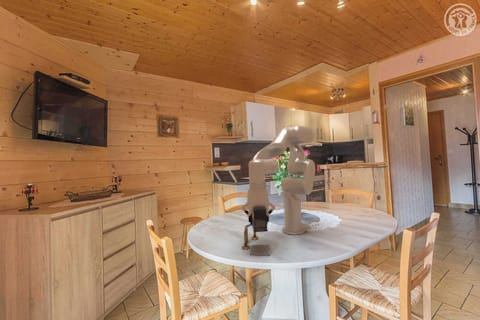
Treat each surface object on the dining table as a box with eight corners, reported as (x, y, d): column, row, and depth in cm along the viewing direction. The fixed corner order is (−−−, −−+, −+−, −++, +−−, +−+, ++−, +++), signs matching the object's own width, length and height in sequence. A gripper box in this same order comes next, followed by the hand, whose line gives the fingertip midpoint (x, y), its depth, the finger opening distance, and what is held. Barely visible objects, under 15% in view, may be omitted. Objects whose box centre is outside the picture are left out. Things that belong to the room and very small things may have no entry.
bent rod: (259, 237, 124) (258, 221, 124) (248, 250, 109) (247, 231, 109) (251, 236, 126) (250, 220, 126) (238, 248, 111) (238, 230, 111)
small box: (250, 225, 113) (250, 204, 112) (263, 224, 113) (263, 203, 113) (253, 232, 102) (252, 209, 102) (268, 231, 102) (267, 208, 102)
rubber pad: (269, 245, 113) (269, 244, 113) (270, 255, 102) (270, 254, 102) (251, 245, 114) (251, 244, 114) (250, 255, 103) (250, 254, 103)
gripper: (275, 184, 110) (276, 221, 110) (239, 185, 112) (241, 221, 112) (276, 186, 103) (277, 226, 103) (238, 187, 104) (239, 226, 105)
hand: (258, 223), depth 108 cm, fingers closed on small box, 6 cm apart
